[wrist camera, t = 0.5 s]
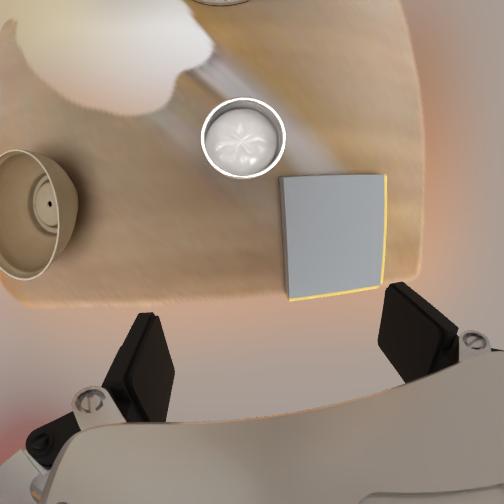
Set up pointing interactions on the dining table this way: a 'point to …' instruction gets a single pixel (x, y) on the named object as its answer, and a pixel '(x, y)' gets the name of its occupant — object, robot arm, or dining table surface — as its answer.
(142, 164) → the dining table surface
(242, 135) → the beer glass
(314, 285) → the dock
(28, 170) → the planter bowl
